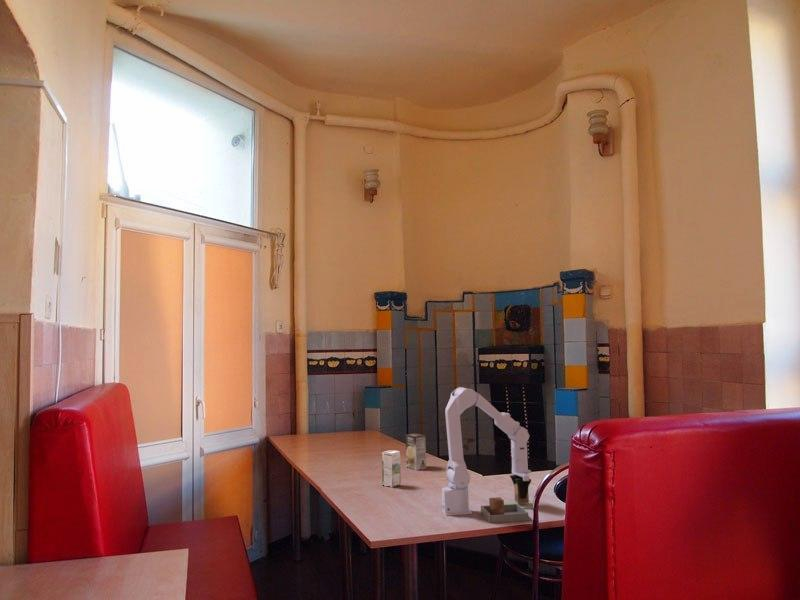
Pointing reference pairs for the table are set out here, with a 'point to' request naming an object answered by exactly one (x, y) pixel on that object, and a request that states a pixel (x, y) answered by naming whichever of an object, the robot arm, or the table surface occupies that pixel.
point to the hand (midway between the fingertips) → (521, 496)
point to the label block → (517, 497)
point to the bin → (506, 514)
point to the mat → (523, 504)
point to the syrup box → (391, 468)
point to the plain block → (496, 506)
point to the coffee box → (415, 451)
